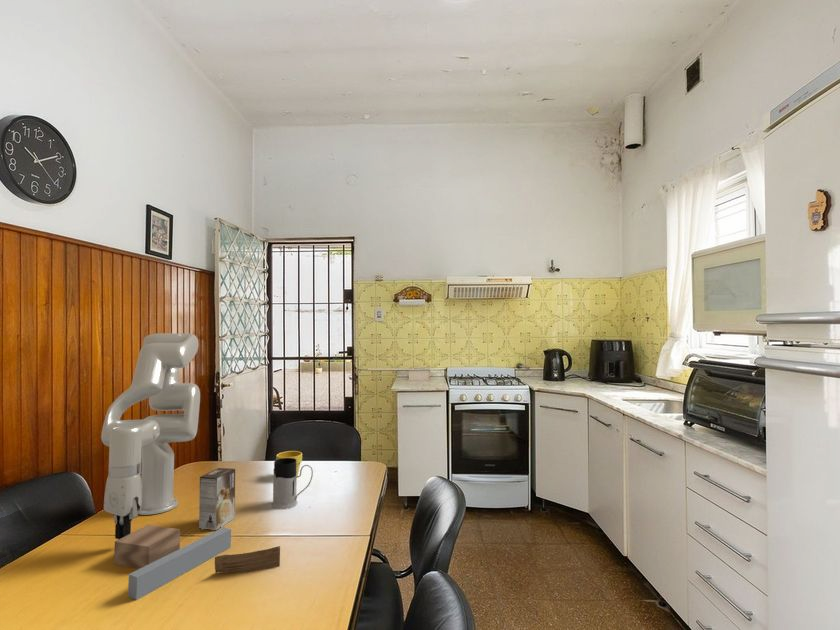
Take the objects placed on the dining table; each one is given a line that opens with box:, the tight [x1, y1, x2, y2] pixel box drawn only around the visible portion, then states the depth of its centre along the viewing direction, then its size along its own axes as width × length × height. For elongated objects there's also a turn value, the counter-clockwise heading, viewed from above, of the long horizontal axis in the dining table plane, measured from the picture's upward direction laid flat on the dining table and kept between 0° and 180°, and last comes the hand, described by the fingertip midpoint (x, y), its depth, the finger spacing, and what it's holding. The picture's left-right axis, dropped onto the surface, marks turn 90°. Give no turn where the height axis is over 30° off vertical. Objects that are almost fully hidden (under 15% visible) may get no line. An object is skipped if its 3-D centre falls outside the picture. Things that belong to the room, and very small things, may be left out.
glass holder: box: [271, 458, 314, 510], centre depth 150 cm, size 9×14×15 cm, turn 88°
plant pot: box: [275, 450, 303, 476], centre depth 177 cm, size 10×10×10 cm
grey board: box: [127, 526, 232, 601], centre depth 108 cm, size 3×26×5 cm, turn 156°
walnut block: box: [113, 524, 181, 569], centre depth 114 cm, size 11×10×6 cm
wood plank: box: [214, 545, 281, 574], centre depth 108 cm, size 15×2×5 cm, turn 108°
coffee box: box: [198, 467, 236, 531], centre depth 134 cm, size 9×6×16 cm
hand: (122, 536), depth 119 cm, fingers closed
